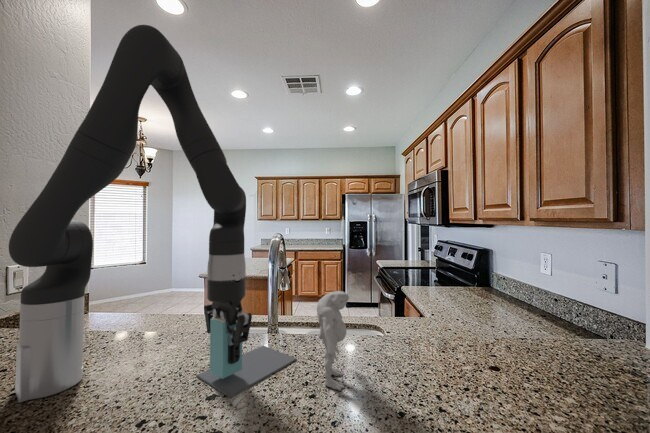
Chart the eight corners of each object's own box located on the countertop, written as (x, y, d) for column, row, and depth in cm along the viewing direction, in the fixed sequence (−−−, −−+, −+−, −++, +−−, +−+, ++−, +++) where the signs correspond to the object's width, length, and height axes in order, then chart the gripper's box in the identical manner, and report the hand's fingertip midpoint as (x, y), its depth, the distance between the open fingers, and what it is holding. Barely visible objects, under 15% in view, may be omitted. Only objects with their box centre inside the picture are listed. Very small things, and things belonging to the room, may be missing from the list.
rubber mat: (230, 397, 51) (230, 395, 51) (196, 376, 58) (196, 375, 58) (296, 360, 65) (296, 358, 65) (263, 347, 72) (263, 345, 72)
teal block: (222, 378, 54) (223, 321, 54) (210, 371, 56) (210, 317, 57) (242, 369, 57) (242, 315, 58) (229, 363, 60) (229, 312, 60)
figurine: (354, 409, 48) (354, 304, 48) (316, 409, 47) (315, 304, 48) (346, 359, 65) (345, 283, 66) (317, 359, 65) (317, 283, 66)
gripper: (191, 274, 59) (190, 356, 58) (231, 282, 50) (231, 378, 50) (223, 270, 65) (222, 344, 64) (263, 276, 56) (263, 361, 56)
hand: (226, 358), depth 57 cm, fingers closed on teal block, 4 cm apart
